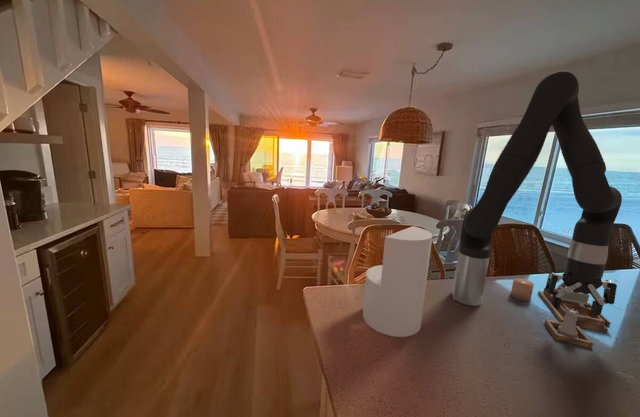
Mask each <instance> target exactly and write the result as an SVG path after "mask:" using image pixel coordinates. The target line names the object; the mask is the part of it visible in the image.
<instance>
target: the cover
mask: <svg viewBox="0 0 640 417" xmlns="http://www.w3.org/2000/svg"><path fill="white" fill-rule="evenodd" d="M556 288H557V287H555V289H556ZM589 297H590V294H583V293H575V292H573V291H571V292H570V293H568V294H565V295H563V296H562V297H560V298H561V300H564V301H569V302H574V303H579V304H582V305H583V304H585V305H592V303H590V301H589Z"/></svg>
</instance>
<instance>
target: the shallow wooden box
mask: <svg viewBox="0 0 640 417" xmlns="http://www.w3.org/2000/svg"><path fill="white" fill-rule="evenodd" d="M537 295H538V296H539V297H540V298H541V300H542V301H543V302H544V303H545V305H546V306H547V307H548V308H549V310H550V311H551V312H552V313H553V315H554V316H555V317H556V319H557V320H558V322H560V323H563V321H564V319H565V317H564V316H565V315H566V313H565V310H567V308H570V310H572V309H574V311H575V310H577V311H578V312H579V315H580V317H577V320H578V321H576V326H579V327H580V328H584V329H587V330H592V331H596V332H601V333H606V334H608V332H609V329H610V328H611V321H610V320H609V319H607V318H606V317H605V316H604V315H603V314H602V313H601V314H600V315H598V317H597V316H593V315H592V314H591V312H590V311H591V307H592V304H591V305H585V304H579V303H574V302H569V301H564V300H561V304H560V308H559V310H558V309H555V308H554V307H553V305H552V304H551V301H552V296H553V295H552V294H549V293H548V292H547V291H546V290H545V287H544V288H543V291H541V290H538V292H537Z"/></svg>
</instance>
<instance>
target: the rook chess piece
mask: <svg viewBox="0 0 640 417" xmlns="http://www.w3.org/2000/svg"><path fill="white" fill-rule="evenodd" d="M565 313H566V315H565V316H564V317H565V319H564V321H563V323H562V324H561V325H560V326H558V328H557V329H556V331H557V332H558V334H561V335H566V336H570V337H574V338H578V336H579V335H578V332H577V330H576V321H578V320H577V317H580V315H579V312H578V311H577V310H575V311H574V309H572V310H570V308H567V310H565Z"/></svg>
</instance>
